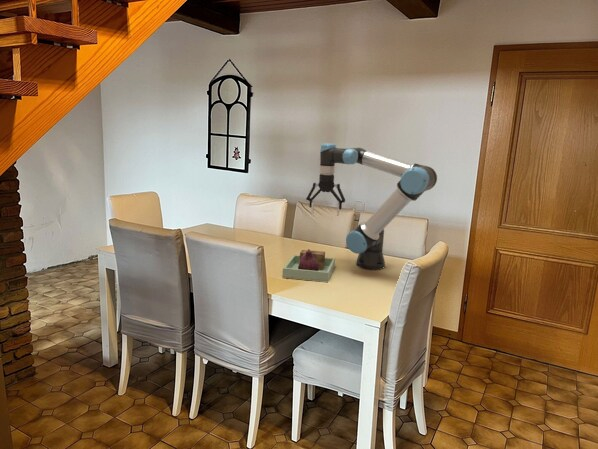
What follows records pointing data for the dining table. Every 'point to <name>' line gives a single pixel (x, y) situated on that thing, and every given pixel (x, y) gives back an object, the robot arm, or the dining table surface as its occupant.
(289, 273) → the tray
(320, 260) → the walnut block
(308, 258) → the vegetable
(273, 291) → the dining table surface
